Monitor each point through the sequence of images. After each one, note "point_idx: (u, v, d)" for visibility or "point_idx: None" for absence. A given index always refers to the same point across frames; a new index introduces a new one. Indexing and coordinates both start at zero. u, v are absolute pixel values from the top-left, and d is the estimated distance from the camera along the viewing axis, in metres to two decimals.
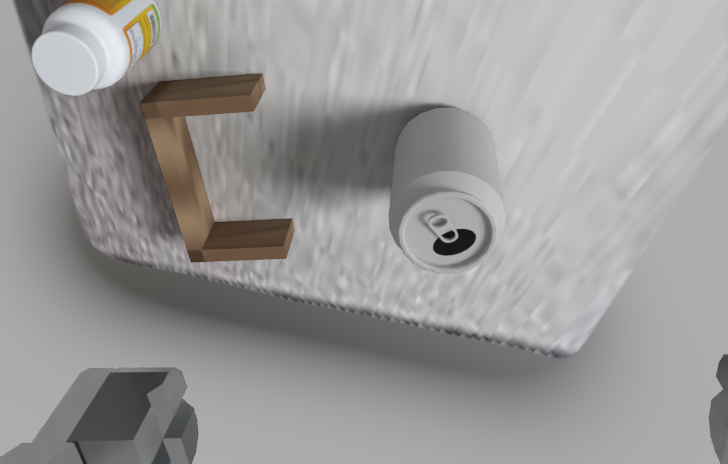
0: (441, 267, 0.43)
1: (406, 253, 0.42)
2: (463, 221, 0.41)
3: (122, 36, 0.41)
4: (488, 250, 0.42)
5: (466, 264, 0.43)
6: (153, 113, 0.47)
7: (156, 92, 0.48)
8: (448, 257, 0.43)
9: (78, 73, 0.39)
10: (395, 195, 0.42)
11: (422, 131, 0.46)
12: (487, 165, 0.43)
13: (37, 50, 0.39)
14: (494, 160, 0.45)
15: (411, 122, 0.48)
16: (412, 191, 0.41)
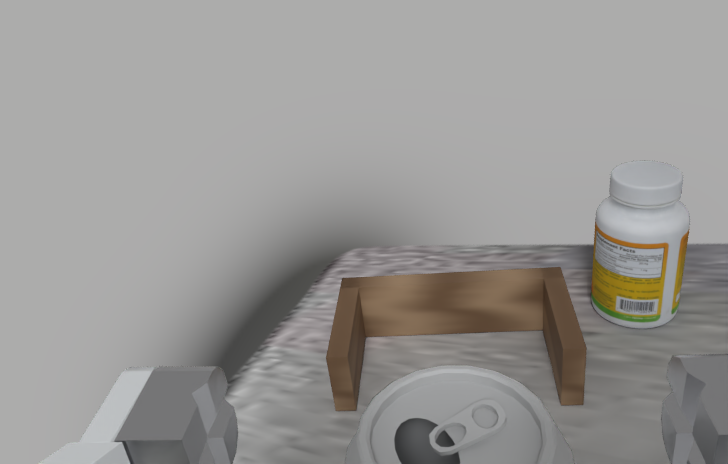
0: (372, 423, 0.22)
1: (414, 373, 0.23)
2: None
3: (663, 237, 0.38)
4: None
5: None
6: (548, 274, 0.41)
7: None
8: (390, 440, 0.21)
9: (639, 178, 0.39)
10: None
11: None
12: None
13: (656, 163, 0.40)
14: None
15: None
16: None
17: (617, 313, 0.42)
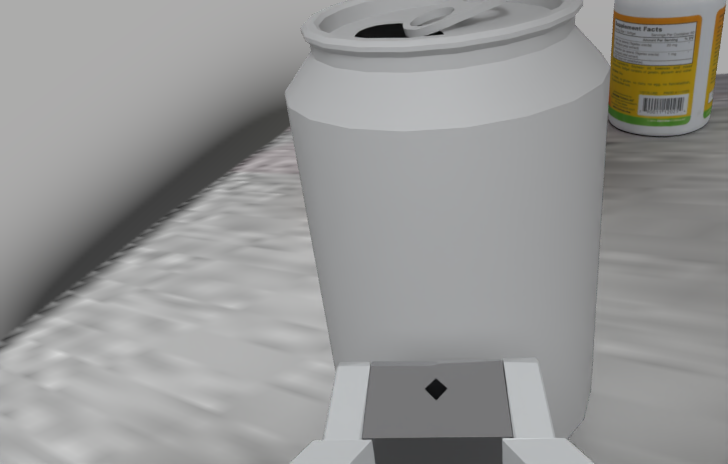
0: (325, 23, 0.16)
1: None
2: None
3: (696, 8, 0.32)
4: (371, 38, 0.13)
5: None
6: None
7: None
8: (350, 36, 0.15)
9: None
10: None
11: None
12: (569, 216, 0.14)
13: None
14: (529, 322, 0.15)
15: None
16: None
17: (639, 118, 0.36)
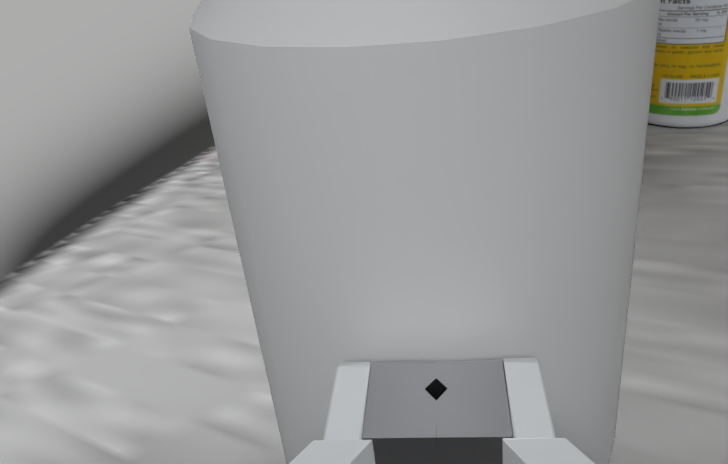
0: None
1: None
2: None
3: None
4: None
5: None
6: None
7: None
8: None
9: None
10: None
11: None
12: (600, 193, 0.09)
13: None
14: (537, 349, 0.10)
15: None
16: None
17: (661, 106, 0.31)
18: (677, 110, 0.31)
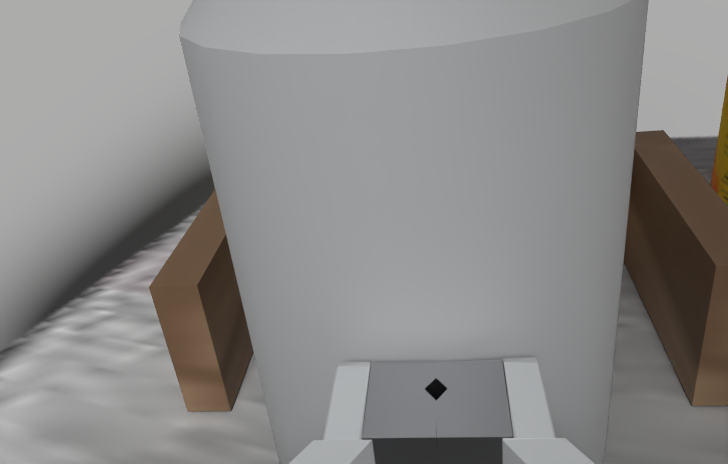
0: None
1: None
2: None
3: None
4: None
5: None
6: (642, 140, 0.20)
7: None
8: None
9: None
10: None
11: None
12: (596, 194, 0.10)
13: None
14: (536, 351, 0.10)
15: None
16: None
17: None
18: None
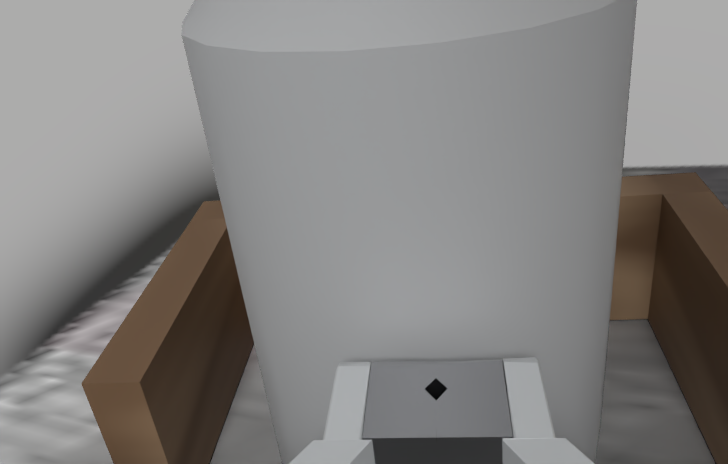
0: None
1: None
2: None
3: None
4: None
5: None
6: (672, 186, 0.18)
7: None
8: None
9: None
10: None
11: None
12: (587, 187, 0.10)
13: None
14: (530, 339, 0.10)
15: None
16: None
17: None
18: None
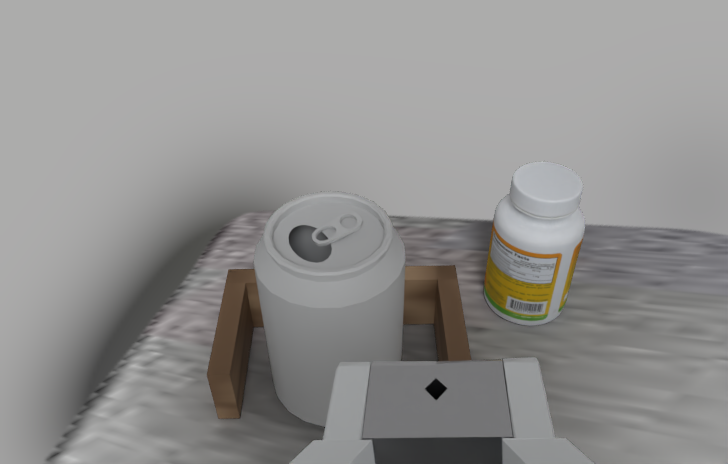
0: (273, 228, 0.32)
1: (301, 196, 0.34)
2: (343, 250, 0.31)
3: (557, 248, 0.38)
4: (300, 266, 0.30)
5: None
6: (442, 274, 0.40)
7: None
8: (286, 238, 0.32)
9: (539, 187, 0.38)
10: None
11: None
12: (384, 326, 0.32)
13: (559, 167, 0.39)
14: None
15: None
16: None
17: (507, 310, 0.42)
18: (518, 316, 0.42)
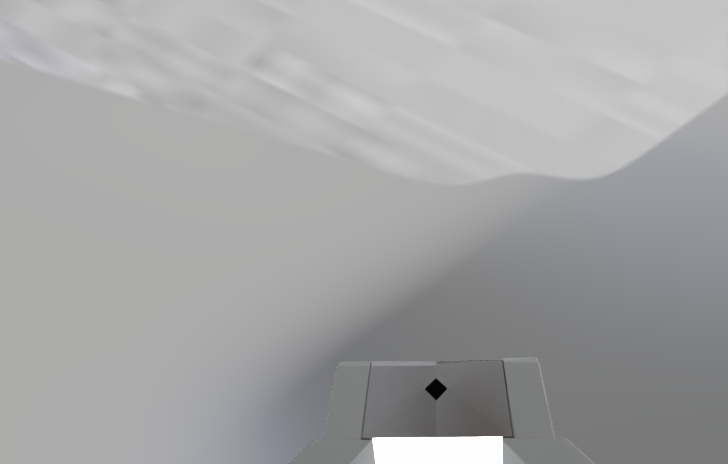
0: None
1: None
2: None
3: None
4: None
5: None
6: None
7: None
8: None
9: None
10: None
11: None
12: None
13: None
14: None
15: None
16: None
17: None
18: None
